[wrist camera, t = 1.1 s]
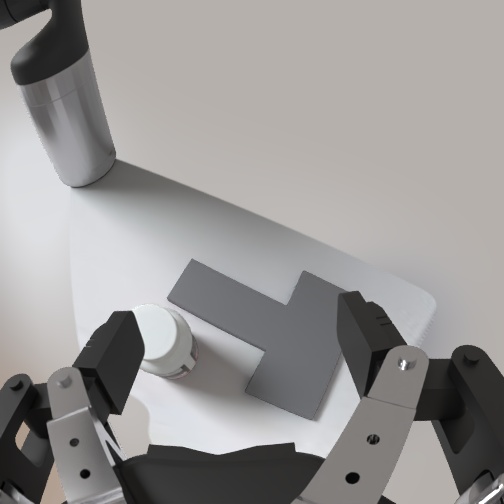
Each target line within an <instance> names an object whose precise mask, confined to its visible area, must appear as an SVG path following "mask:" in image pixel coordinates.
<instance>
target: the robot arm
mask: <svg viewBox="0 0 504 504" xmlns="http://www.w3.org/2000/svg"><path fill="white" fill-rule="evenodd" d="M46 9H51V10H52V17H51V19H50V21H49V22H48V23H47V25H46V26H45V27H44V28H43V29H42V30H41V31H40V32H39V33H38V34H37V35H36V36H35V37H34V38H32V39H31V40H30V41H29V42H28V43H26V44H25V45H24V46H23V47H22V48H21V49H20V50H19V51H18V52H17V53H16V55H15V56H14V57H13V59H12V61H11V72H12V75H13V77H14V80H15V82H16V85H17V88H18V90H19V93H20V95H21V98H22V100H23V102H24V105H25V107H26V109H27V111H28V114H29V116H30V118H31V121H32V123H33V125H34V127H35V129H36V132H37V134H38V136H39V138H40V140H41V142H42V144H43V146H44V148H45V150H46V152H47V154H48V156H49V158H50V160H51V162H52V164H53V166H54V168H55V170H56V172H57V174H58V176H59V178H60V179H61V181H62V182H63V183H64V184H66V185H68V186H72V187H79V186H85V185H88V184H90V183H92V182H94V181H96V180H98V179H99V178H101V177H102V176H103V175H105V174H106V173H107V172H108V171H109V169H110V168H111V167H112V165H113V163H114V161H115V158H116V151H115V148H114V144H113V141H112V137H111V134H110V130H109V126H108V123H107V119H106V116H105V112H104V108H103V105H102V101H101V97H100V93H99V89H98V85H97V81H96V76H95V72H94V68H93V64H92V60H91V55H90V49H89V45H88V41H87V36H86V31H85V26H84V21H83V15H82V8H81V0H0V30H1V29H4V28H7V27H10V26H12V25H14V24H16V23H18V22H20V21H22V20H24V19H26V18H29V17H31V16H33V15H35V14H38V13H40V12H42V11H45V10H46ZM336 330H337V338H338V342H339V345H340V347H341V350H342V352H343V355H344V357H345V360H346V363H347V365H348V368H349V370H350V373H351V375H352V378H353V381H354V383H355V386H356V389H357V391H358V394H359V397H360V399H361V401H360V403H359V404H358V406H357V408H356V410H355V412H354V413H353V415H352V417H351V419H350V421H349V422H348V424H347V426H346V427H345V429H344V431H343V432H342V434H341V436H340V437H339V439H338V441H337V442H336V444H335V446H334V447H333V449H332V450H331V452H330V453H329V455H328V457H327V458H326V459H325V458H322V457H320V456H316V455H313V454H308V453H301V452H296V451H295V444H294V442H293V443H284V444H274V445H262V446H254V447H251V448H247V449H243V450H239V451H235V452H230V453H226V454H221V455H215V454H210V453H206V452H201V451H197V450H193V449H189V448H185V447H179V446H163V445H151V444H149V447H148V451H147V454H143V455H139V456H135V457H132V458H129V459H128V458H127V457H126V455H125V453H124V451H123V449H122V447H121V445H120V443H119V441H118V439H117V437H116V435H115V433H114V430H113V428H112V426H111V424H110V422H109V420H108V416H109V414H116V415H121V414H122V411H123V409H124V406H125V403H126V401H127V398H128V396H129V393H130V390H131V388H132V385H133V383H134V380H135V378H136V375H137V373H138V370H139V368H140V365H141V363H142V360H143V358H144V355H145V345H144V341H143V338H142V335H141V332H140V329H139V326H138V323H137V320H136V317H135V315H134V313H133V312H132V311H114V312H113V313H112V315H111V316H110V318H109V319H108V321H107V322H106V323H104V324H103V325H101V326H100V327H99V328H98V329H96V330H95V332H94V333H93V335H92V336H91V338H90V340H89V341H88V342H87V344H86V347H84V348H83V350H82V351H81V353H80V355H79V356H78V357H77V359H76V361H75V362H74V364H73V365H72V367H65V368H62V369H60V370H58V371H56V372H54V373H53V374H52V375H51V376H50V378H49V379H48V382H47V383H42V384H33V382H32V381H31V379H30V377H29V376H28V375H26V374H17V375H15V376H13V377H11V378H10V379H8V381H7V382H6V383H5V384H4V386H3V387H2V389H1V390H0V504H40V502H41V498H42V495H43V492H44V489H45V486H46V483H47V480H48V477H49V474H50V471H51V468H52V466H53V463H54V460H55V463H56V467H57V471H58V474H59V478H60V481H61V484H62V487H63V490H64V494H65V497H66V499H67V500H66V501H65V502H63V503H62V504H396V503H394V502H392V501H391V500H389V499H388V498H386V497H384V496H383V495H382V493H383V491H384V489H385V487H386V485H387V483H388V481H389V479H390V477H391V474H392V472H393V470H394V468H395V465H396V463H397V461H398V458H399V456H400V454H401V451H402V449H403V446H404V443H405V441H406V438H407V436H408V433H409V431H410V428H411V425H412V422H413V421H430V420H431V422H432V425H433V427H434V429H435V432H436V434H437V437H438V439H439V441H440V444H441V446H442V449H443V451H444V454H445V456H446V459H447V462H448V464H449V467H450V469H451V472H452V475H453V478H454V481H455V483H456V486H457V489H458V492H459V495H460V497H459V498H458V499H457V500H456V502H455V504H504V377H503V375H502V374H501V373H500V371H499V370H498V368H497V367H496V366H495V364H494V363H493V362H492V361H491V359H490V358H489V356H488V355H487V354H486V353H485V352H484V351H483V350H482V349H480V348H478V347H476V346H472V345H463V346H459V347H458V348H456V349H455V350H454V351H453V353H452V356H451V359H429V358H428V356H427V355H426V353H425V352H424V351H422V350H421V349H419V348H417V347H414V346H409V345H407V344H406V342H405V341H404V339H403V338H402V336H401V335H400V333H399V332H398V330H397V329H396V327H395V326H394V324H392V321H391V320H390V318H389V317H388V315H387V314H386V313H385V311H384V310H383V308H382V307H380V306H379V305H377V304H375V303H374V302H365V300H364V298H363V297H362V295H361V294H360V292H359V291H352V292H345V293H339V295H338V306H337V326H336ZM23 421H24V422H25V424H26V425H27V426H28V427H29V429H30V431H29V434H28V435H27V438H26V440H25V442H24V444H23V446H22V449H21V451H20V450H19V449H18V447H17V445H16V442H15V437H16V434H17V432H18V430H19V428H20V426H21V424H22V422H23Z"/></svg>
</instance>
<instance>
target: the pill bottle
mask: <svg viewBox="0 0 504 504" xmlns="http://www.w3.org/2000/svg"><path fill="white" fill-rule="evenodd" d="M132 312H133V313H134V315H135V317H136V320H137V323H138V326H139V329H140V332H141V335H142V338H143V341H144V345H145V355H144V358H143V360H142V363H141V365H140V369H142V370H143V371H145V372H148V373H151V374H154V375H156V376H159V377H162V378H167V379H177V378H180V377H183V376H185V375H186V374H188V373H189V372H190V371H191V370H192V369H193V367H194V366H195V364H196V361H197V357H198V348H197V344H196V341H195V339H194V336H193V334H192V332H191V330H190V327H189V325H188V324H187V322H186V321H185V319H184V318H183V317H182V316H181V315H180V314H179V313H177V312H176V311H174V310H172V309H170V308H167V307H163V306H159V305H156V304H143V305H140V306H138V307H136V308H134V309H133V310H132Z"/></svg>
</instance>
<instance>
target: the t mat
mask: <svg viewBox="0 0 504 504" xmlns="http://www.w3.org/2000/svg"><path fill="white" fill-rule="evenodd" d="M345 292H348V291H345V290H343V289H341V288H339V287H337V286H335V285H333V284H331V283H329V282H327V281H325V280H323V279H321V278H319V277H317V276H315V275H313V274H311V273H308V272H306V271H303V272H302V274H301V277H300V279H299V281H298V283H297V285H296V288H295V290H294V292H293V294H292V296H291V299H290V301H289V303H288V305H287V306H286V305H284V304H282V303H280V302H278V301H276V300H273V299H271V298H269V297H267V296H265V295H263V294H261V293H259V292H257V291H255V290H253V289H251V288H249V287H247V286H245V285H243V284H241V283H239V282H237V281H235V280H233V279H231V278H229V277H227V276H225V275H223V274H221V273H219V272H217V271H215V270H213V269H211V268H209V267H207V266H205V265H204V264H202V263H200V262H198V261H196V260H194V259H191V261H190V262H189V264H188V265H187V267H186V269H185V270H184V272H183V273H182V275H181V276H180V278H179V279H178V281H177V283H176V284H175V286H174V287H173V289H172V291H171V292H170V294H169V295H168V297H167V299H168V301H170V302H172V303H173V304H175V305H177V306H179V307H180V308H182V309H184V310H186V311H188V312H189V313H191V314H193V315H195V316H197V317H199V318H200V319H202V320H204V321H206V322H208V323H210V324H212V325H214V326H215V327H217V328H219V329H221V330H223V331H225V332H227V333H229V334H231V335H233V336H235V337H237V338H239V339H241V340H243V341H245V342H247V343H249V344H251V345H253V346H255V347H257V348H259V349H261V350H263V351H265V353H264V355H263V357H262V359H261V361H260V363H259V365H258V367H257V369H256V371H255V373H254V375H253V377H252V379H251V381H250V383H249V384H248V386H247V388H246V390H245V392H246V393H249V394H251V395H253V396H255V397H257V398H259V399H262V400H264V401H266V402H268V403H271V404H273V405H275V406H277V407H280V408H282V409H284V410H287V411H289V412H292V413H294V414H297V415H299V416H301V417H304V418H307V419H309V420H312V419H313V417H314V415H315V413H316V410H317V408H318V406H319V404H320V402H321V399H322V397H323V395H324V393H325V390H326V388H327V386H328V383H329V381H330V378H331V376H332V374H333V371H334V369H335V366H336V364H337V361H338V359H339V356H340V354H341V351H342V350H341V347H340V345H339V342H338V338H337V330H336V326H337V306H338V295H339V293H345Z"/></svg>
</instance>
